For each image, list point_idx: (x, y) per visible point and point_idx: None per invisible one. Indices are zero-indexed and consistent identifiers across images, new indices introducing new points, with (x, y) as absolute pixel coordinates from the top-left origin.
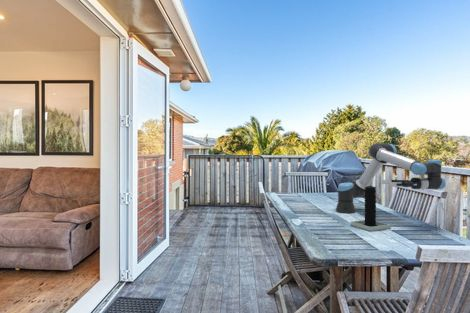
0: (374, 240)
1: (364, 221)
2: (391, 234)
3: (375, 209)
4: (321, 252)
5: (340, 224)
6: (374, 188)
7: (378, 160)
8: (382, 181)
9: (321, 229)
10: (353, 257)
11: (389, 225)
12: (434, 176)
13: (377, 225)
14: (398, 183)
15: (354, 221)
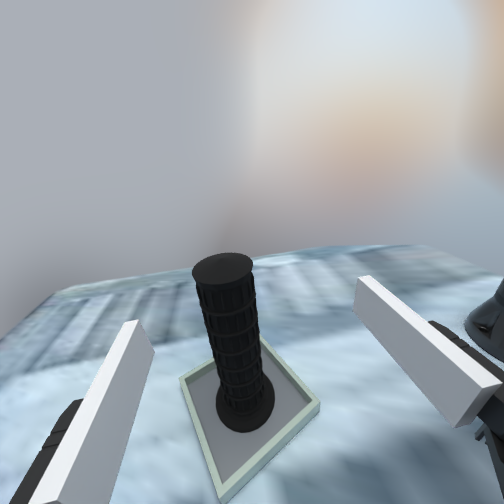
0: (91, 380)
1: (290, 377)
2: (129, 471)
3: (228, 371)
4: (79, 292)
5: (268, 319)
6: (196, 281)
7: None
8: (360, 297)
9: None
10: (24, 325)
11: (215, 488)
12: None
13: (244, 426)
14: (77, 428)
15: (261, 341)
